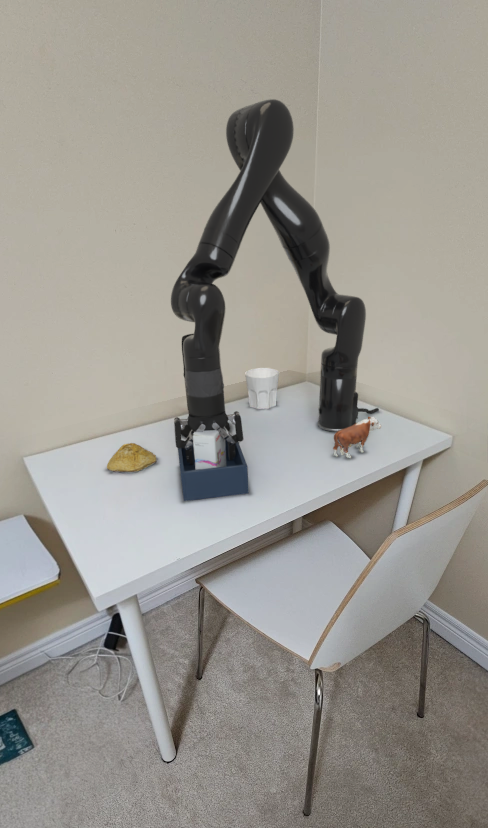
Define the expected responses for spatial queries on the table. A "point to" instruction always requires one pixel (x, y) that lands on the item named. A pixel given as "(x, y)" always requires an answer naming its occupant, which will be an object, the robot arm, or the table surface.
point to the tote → (214, 477)
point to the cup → (262, 387)
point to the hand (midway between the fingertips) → (211, 461)
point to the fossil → (131, 459)
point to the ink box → (209, 450)
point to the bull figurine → (354, 435)
